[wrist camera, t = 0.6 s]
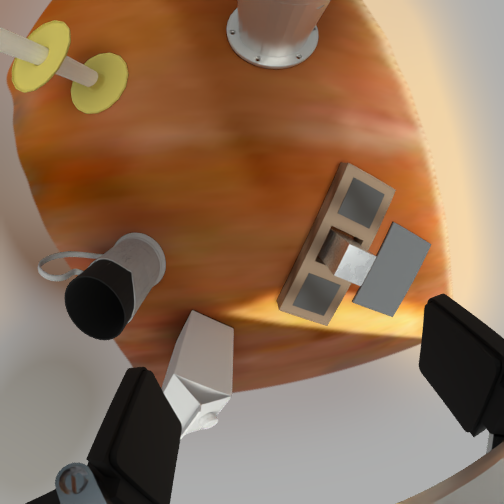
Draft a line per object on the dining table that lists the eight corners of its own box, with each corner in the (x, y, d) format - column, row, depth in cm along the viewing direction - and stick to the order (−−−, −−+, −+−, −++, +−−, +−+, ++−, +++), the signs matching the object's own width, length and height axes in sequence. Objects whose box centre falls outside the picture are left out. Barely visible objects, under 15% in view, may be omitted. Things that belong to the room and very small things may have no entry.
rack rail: (340, 162, 37) (348, 162, 34) (385, 187, 38) (396, 190, 35) (276, 300, 42) (279, 310, 39) (322, 316, 44) (327, 326, 41)
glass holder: (156, 297, 42) (123, 356, 27) (78, 261, 39) (24, 302, 25) (173, 246, 39) (140, 292, 25) (90, 210, 37) (28, 236, 23)
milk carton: (176, 341, 44) (148, 431, 26) (192, 308, 42) (166, 399, 24) (215, 358, 45) (206, 451, 27) (234, 327, 44) (232, 422, 26)
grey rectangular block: (327, 226, 39) (349, 244, 31) (350, 237, 40) (376, 256, 31) (315, 251, 40) (333, 275, 32) (338, 261, 41) (361, 286, 32)
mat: (392, 221, 39) (393, 222, 39) (429, 243, 41) (431, 244, 40) (351, 301, 43) (352, 302, 43) (391, 315, 44) (392, 316, 44)
